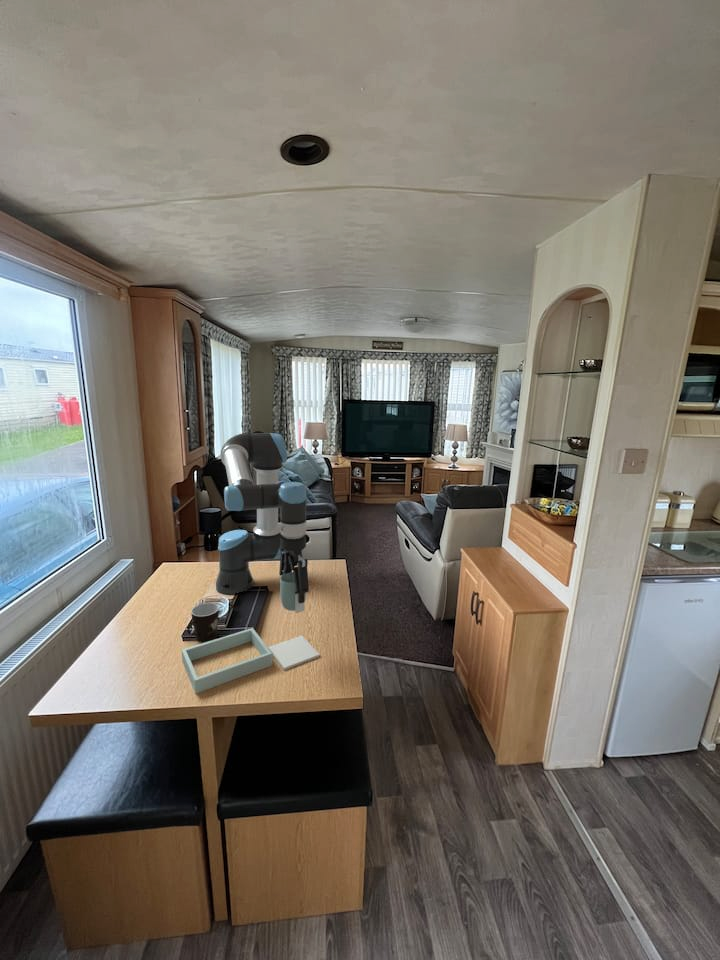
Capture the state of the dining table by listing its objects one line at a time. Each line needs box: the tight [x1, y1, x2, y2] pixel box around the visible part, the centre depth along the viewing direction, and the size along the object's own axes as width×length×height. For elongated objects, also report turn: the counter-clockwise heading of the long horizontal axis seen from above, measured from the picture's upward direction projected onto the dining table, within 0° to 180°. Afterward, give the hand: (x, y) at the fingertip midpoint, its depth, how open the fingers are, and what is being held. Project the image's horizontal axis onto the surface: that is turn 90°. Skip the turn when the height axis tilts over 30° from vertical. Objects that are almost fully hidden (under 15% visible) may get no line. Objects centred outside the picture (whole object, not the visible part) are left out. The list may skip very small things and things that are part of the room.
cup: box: [279, 571, 307, 612], centre depth 124 cm, size 8×8×10 cm
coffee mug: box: [187, 602, 220, 643], centre depth 133 cm, size 12×9×10 cm
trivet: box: [267, 635, 321, 671], centre depth 128 cm, size 12×12×1 cm
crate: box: [181, 627, 273, 695], centre depth 122 cm, size 16×22×4 cm
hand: (293, 605), depth 125 cm, fingers closed on cup, 8 cm apart
